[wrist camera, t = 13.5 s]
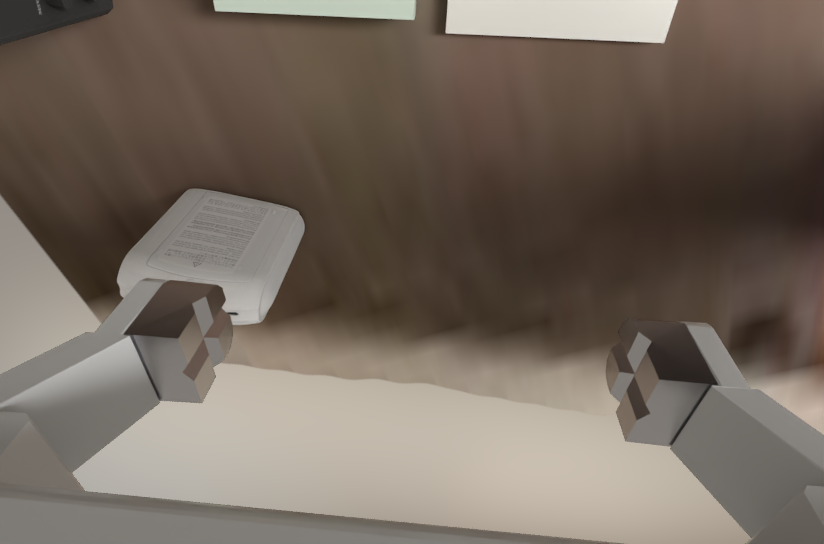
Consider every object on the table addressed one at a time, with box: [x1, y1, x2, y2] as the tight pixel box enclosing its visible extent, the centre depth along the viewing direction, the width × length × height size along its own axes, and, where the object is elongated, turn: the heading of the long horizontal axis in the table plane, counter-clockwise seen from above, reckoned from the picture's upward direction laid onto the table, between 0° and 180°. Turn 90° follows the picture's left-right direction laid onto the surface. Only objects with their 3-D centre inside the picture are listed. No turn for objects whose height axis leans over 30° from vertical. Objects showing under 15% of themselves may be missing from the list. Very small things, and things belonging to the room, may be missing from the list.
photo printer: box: [117, 189, 305, 325], centre depth 36 cm, size 10×4×12 cm, turn 78°
